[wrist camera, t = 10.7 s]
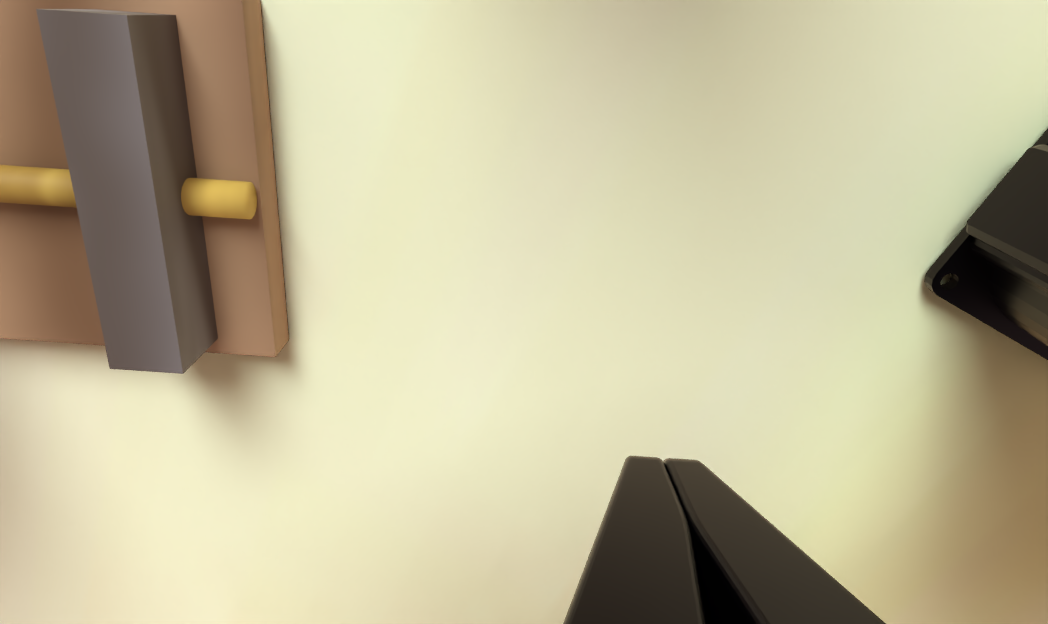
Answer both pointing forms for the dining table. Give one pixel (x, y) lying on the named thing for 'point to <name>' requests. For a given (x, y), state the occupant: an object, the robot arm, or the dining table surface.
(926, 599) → the dining table surface
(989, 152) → the dining table surface
